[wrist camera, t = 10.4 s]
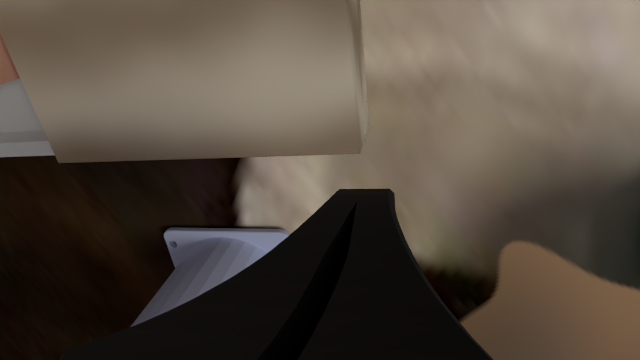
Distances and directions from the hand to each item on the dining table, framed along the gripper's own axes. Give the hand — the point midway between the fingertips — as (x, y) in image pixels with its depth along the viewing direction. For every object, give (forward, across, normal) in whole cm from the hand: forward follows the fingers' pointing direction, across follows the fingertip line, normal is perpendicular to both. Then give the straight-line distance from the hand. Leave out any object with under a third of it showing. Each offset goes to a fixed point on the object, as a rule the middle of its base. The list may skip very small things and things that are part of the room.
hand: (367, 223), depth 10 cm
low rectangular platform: (+10, +9, -5) cm, 14 cm away
